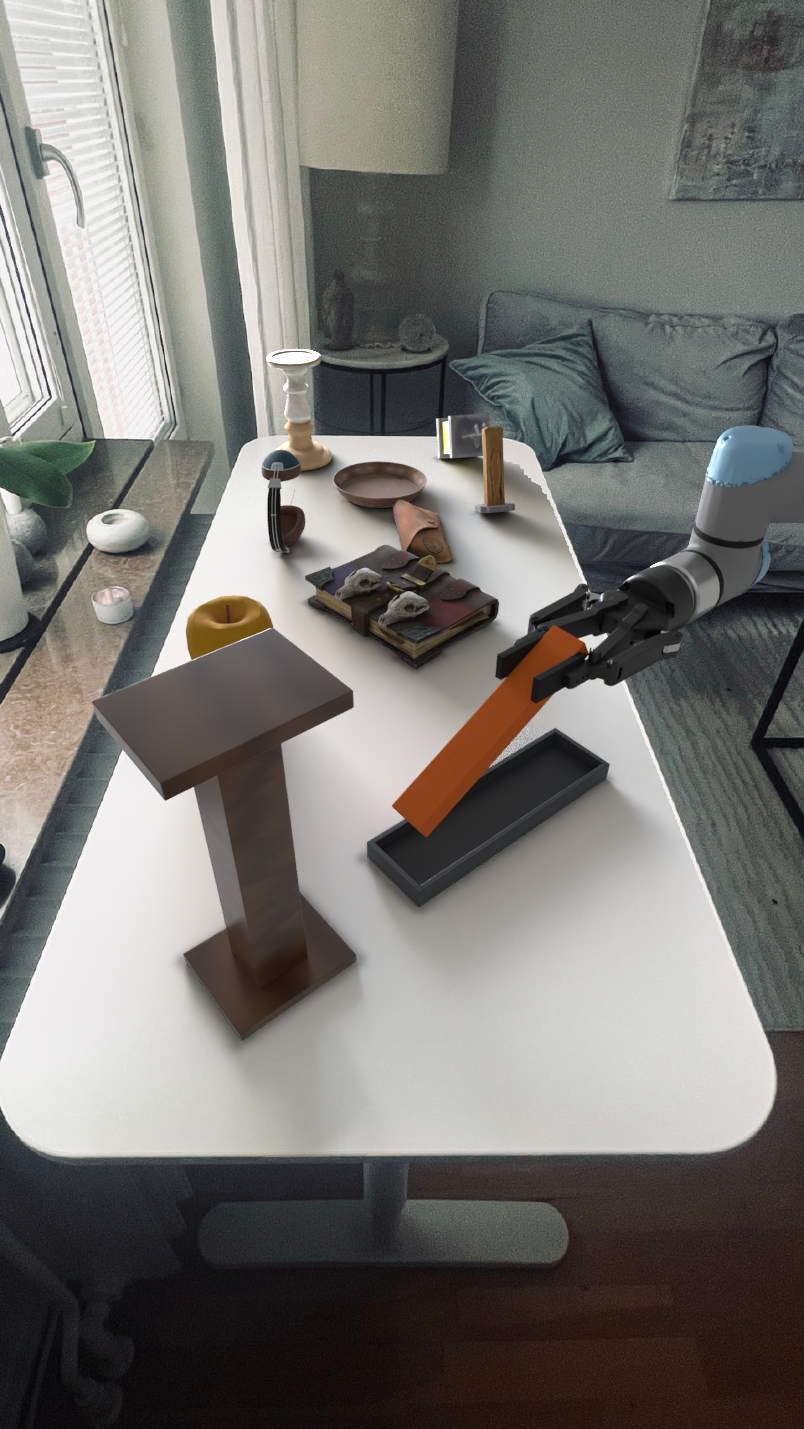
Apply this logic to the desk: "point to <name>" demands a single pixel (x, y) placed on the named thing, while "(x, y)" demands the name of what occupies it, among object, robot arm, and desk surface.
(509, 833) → the tray
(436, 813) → the orange long flat bar
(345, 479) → the plant saucer
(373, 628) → the book
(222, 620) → the apple
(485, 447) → the desk lamp
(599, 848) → the desk surface
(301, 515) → the headphones
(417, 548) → the sunglasses case
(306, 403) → the candle holder
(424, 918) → the desk surface
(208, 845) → the stand
